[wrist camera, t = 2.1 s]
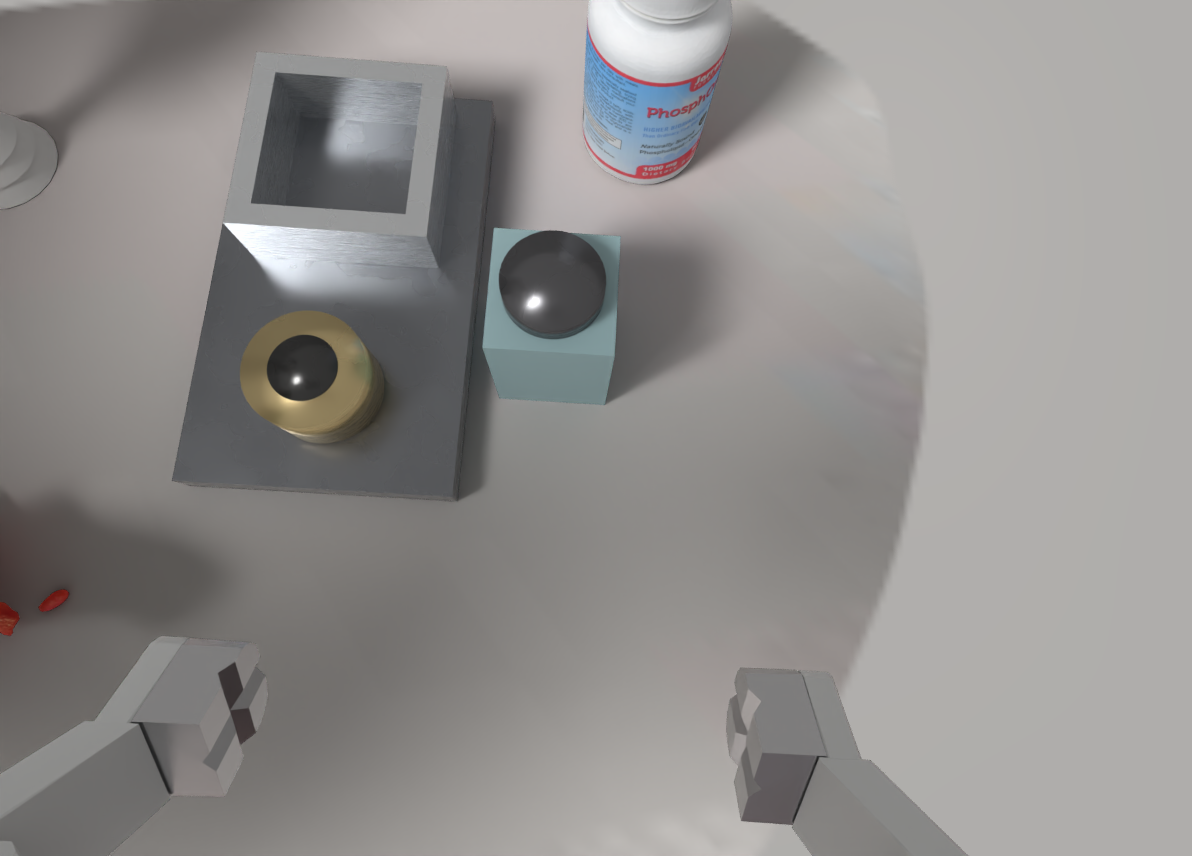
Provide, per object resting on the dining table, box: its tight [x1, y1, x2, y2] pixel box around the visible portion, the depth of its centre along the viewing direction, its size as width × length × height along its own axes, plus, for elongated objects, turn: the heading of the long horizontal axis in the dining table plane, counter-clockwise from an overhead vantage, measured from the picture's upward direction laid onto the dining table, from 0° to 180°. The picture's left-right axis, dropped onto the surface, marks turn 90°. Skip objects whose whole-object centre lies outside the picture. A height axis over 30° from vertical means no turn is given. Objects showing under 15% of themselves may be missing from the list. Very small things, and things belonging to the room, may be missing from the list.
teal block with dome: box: [482, 228, 621, 405], centre depth 30 cm, size 5×5×8 cm
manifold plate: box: [172, 52, 495, 501], centre depth 31 cm, size 12×20×5 cm, turn 177°
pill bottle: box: [582, 0, 732, 185], centre depth 31 cm, size 6×6×11 cm
